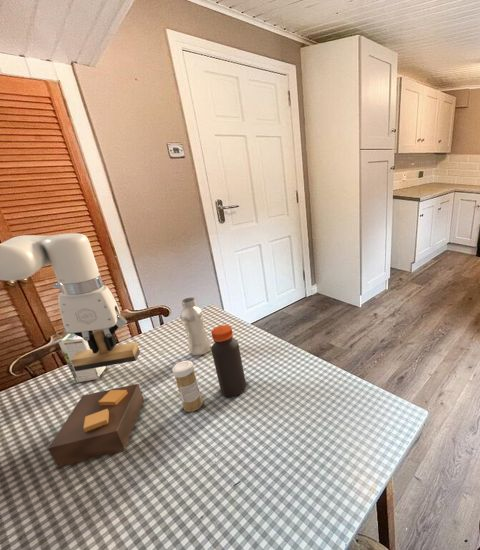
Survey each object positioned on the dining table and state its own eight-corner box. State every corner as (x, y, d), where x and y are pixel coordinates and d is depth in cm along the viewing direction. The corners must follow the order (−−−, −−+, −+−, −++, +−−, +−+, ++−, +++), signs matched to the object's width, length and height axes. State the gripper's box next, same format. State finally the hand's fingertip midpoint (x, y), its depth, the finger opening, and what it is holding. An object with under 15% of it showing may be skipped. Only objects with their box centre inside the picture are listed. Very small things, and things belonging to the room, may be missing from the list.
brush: (75, 371, 77) (62, 339, 74) (82, 362, 81) (70, 331, 77) (135, 360, 82) (126, 330, 78) (140, 352, 85) (131, 323, 82)
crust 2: (99, 405, 74) (98, 401, 74) (112, 393, 78) (110, 389, 77) (116, 405, 74) (114, 401, 74) (127, 393, 78) (126, 389, 77)
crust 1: (85, 432, 67) (83, 428, 66) (87, 420, 70) (85, 416, 69) (108, 423, 69) (106, 419, 69) (109, 412, 72) (107, 408, 72)
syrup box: (85, 371, 95) (68, 331, 89) (107, 367, 96) (92, 328, 91) (75, 383, 90) (56, 342, 84) (99, 379, 91) (82, 338, 86)
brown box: (52, 469, 65) (41, 449, 63) (86, 414, 79) (77, 396, 77) (124, 450, 69) (116, 431, 67) (144, 400, 83) (138, 383, 81)
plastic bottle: (216, 347, 106) (204, 296, 98) (201, 359, 100) (188, 306, 92) (200, 345, 108) (188, 294, 100) (185, 356, 101) (171, 303, 94)
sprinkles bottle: (186, 401, 83) (175, 361, 78) (205, 398, 84) (194, 358, 79) (181, 414, 79) (169, 372, 74) (200, 411, 80) (189, 369, 75)
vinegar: (215, 395, 85) (201, 334, 78) (231, 379, 91) (219, 321, 84) (236, 399, 84) (224, 338, 76) (251, 383, 90) (240, 324, 82)
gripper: (29, 296, 67) (58, 364, 74) (116, 286, 72) (136, 351, 79) (48, 283, 74) (73, 347, 80) (127, 275, 79) (145, 336, 86)
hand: (104, 348), depth 80 cm, fingers closed on brush, 2 cm apart
